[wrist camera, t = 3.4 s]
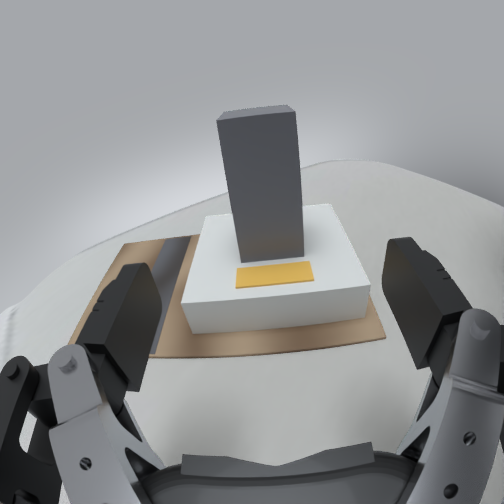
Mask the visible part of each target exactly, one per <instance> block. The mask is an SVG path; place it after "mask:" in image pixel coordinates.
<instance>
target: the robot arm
mask: <svg viewBox="0 0 504 504" xmlns="http://www.w3.org/2000/svg"><path fill="white" fill-rule="evenodd" d="M382 288H383V292H384V295H385V297H386V299H387V301H388V304H389V306H390V308H391V310H392V312H393V314H394V316H395V319H396V321H397V323H398V325H399V328H400V330H401V332H402V334H403V337H404V339H405V341H406V344H407V346H408V349H409V351H410V353H411V356H412V358H413V361H414V363H415V366H416V368H417V370H418V369H422V368H425V367H430V369H431V372H432V373H431V374H430V376H429V379H428V382H427V385H426V388H425V391H424V393H423V396H422V399H421V402H420V404H419V407H418V410H417V412H416V415H415V417H414V420H413V422H412V424H411V427H410V429H409V430H408V432H407V434H406V435H405V437H404V439H403V440H402V442H401V444H400V445H399V447H398V449H397V451H396V453H395V454H393V453H389V452H382V451H373V448H372V443H371V442H367V443H362V444H357V445H352V446H347V447H342V448H336V449H329V450H325V451H322V452H319V453H317V454H314V455H311V456H308V457H305V458H303V459H300V460H297V461H294V462H290V463H287V464H284V465H280V466H270V465H264V464H259V463H254V462H249V461H244V460H240V459H236V458H231V457H226V456H199V455H185V454H183V456H182V464H178V465H174V466H170V467H167V468H166V466H165V465H164V463H163V462H162V461H161V459H160V458H159V457H158V456H157V455H156V453H155V452H154V451H153V450H152V449H151V447H150V446H149V444H148V442H147V441H146V439H145V437H144V435H143V433H142V431H141V429H140V427H139V426H138V424H137V422H136V420H135V418H134V416H133V414H132V412H131V409H130V407H129V405H128V403H127V401H126V400H125V399H124V397H125V393H126V391H134V392H139V391H140V387H141V383H142V379H143V376H144V372H145V368H146V365H147V361H148V358H149V354H150V351H151V347H152V344H153V341H154V337H155V334H156V331H157V327H158V324H159V321H160V318H161V314H162V300H161V297H160V294H159V292H158V289H157V287H156V284H155V281H154V279H153V276H152V274H151V271H150V268H149V266H148V265H147V264H146V263H145V262H143V263H133V264H125V265H123V267H122V268H121V270H120V272H119V274H118V276H117V277H116V279H115V280H112V281H111V282H110V283H109V284H108V285H107V286H106V287H105V288H104V289H103V290H102V292H101V294H100V296H99V297H98V299H97V303H95V305H94V307H93V309H92V312H90V314H89V316H88V318H87V320H86V322H85V324H84V326H83V328H82V330H81V332H80V334H79V336H78V338H77V340H76V342H75V344H70V345H66V346H64V347H62V348H60V349H59V350H58V351H57V352H56V353H55V354H54V355H53V356H52V358H51V359H50V361H49V364H44V365H39V366H33V365H32V364H31V363H30V362H29V361H28V359H27V358H26V357H24V356H16V357H14V358H12V359H11V360H9V361H8V362H7V363H6V365H5V366H4V367H3V369H2V371H1V373H0V504H59V497H60V491H61V485H62V482H63V485H64V487H65V490H66V493H67V495H68V498H69V501H70V503H71V504H479V503H480V500H481V498H482V495H483V493H484V490H485V487H486V484H487V481H488V478H489V475H490V472H491V468H492V465H493V462H494V458H495V454H496V450H497V446H498V442H499V438H500V441H501V445H502V449H503V453H504V325H500V324H499V323H498V321H497V320H496V318H495V317H494V316H493V315H491V314H490V313H488V312H487V311H484V310H481V309H473V308H472V306H471V305H470V303H469V302H468V300H467V299H466V298H465V296H464V295H463V293H462V292H461V290H460V289H459V287H458V286H457V285H456V283H455V282H454V280H453V279H451V276H450V275H449V274H448V272H447V271H445V268H444V267H443V266H442V264H441V263H440V262H439V260H438V259H437V258H436V257H434V256H433V255H431V254H430V253H428V252H427V251H426V250H424V251H422V250H421V248H420V247H419V246H418V245H417V243H416V242H415V241H414V240H413V238H411V237H405V238H395V239H390V240H389V241H388V244H387V249H386V256H385V262H384V268H383V274H382ZM27 411H28V412H29V413H31V414H32V415H33V416H34V417H35V418H37V421H36V424H35V428H34V431H33V434H32V438H31V441H30V445H29V449H28V452H27V453H26V452H25V451H23V449H22V448H21V446H20V443H19V437H20V433H21V430H22V427H23V423H24V420H25V417H26V414H27ZM501 504H504V498H503V499H502V502H501Z"/></svg>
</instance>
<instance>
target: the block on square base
mask: <svg viewBox="0 0 504 504" xmlns="http://www.w3.org/2000/svg"><path fill="white" fill-rule="evenodd" d="M217 127H218V133H219V139H220V145H221V151H222V157H223V163H224V169H225V175H226V180H227V186H228V192H229V198H230V203H231V209H232V213H230V214H221V215H213V216H206V218H205V221H204V224H203V227H202V231H201V234H200V237H199V241H198V244H197V247H196V251H195V254H194V258H193V261H192V264H191V268H190V271H189V275H188V279H187V282H186V286H185V289H184V293H183V297H182V301H181V305H182V308H183V310H184V313H185V316H186V318H187V321H188V323H189V326H190V328H191V331H192V333H193V334H203V333H223V332H239V331H252V330H265V329H276V328H286V327H296V326H305V325H314V324H322V323H330V322H337V321H344V320H351V319H358V318H365V314H366V309H367V303H368V298H369V292H370V286H371V284H370V282H369V280H368V278H367V276H366V273H365V271H364V269H363V267H362V265H361V263H360V261H359V259H358V257H357V254H356V252H355V250H354V248H353V246H352V244H351V242H350V240H349V238H348V236H347V234H346V232H345V230H344V229H343V227H342V225H341V223H340V221H339V219H338V217H337V215H336V213H335V211H334V209H333V208H332V206H331V204H330V203H329V204H317V205H306V206H302V190H301V175H300V160H299V147H298V135H297V124H296V113H295V111H294V110H293V109H292V108H290V107H289V106H288V105H279V106H268V107H258V108H250V109H242V110H234V111H228V112H223V114H222V115H221V116H220V117H219V118H218V119H217Z"/></svg>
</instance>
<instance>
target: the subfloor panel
mask: <svg viewBox="0 0 504 504" xmlns="http://www.w3.org/2000/svg"><path fill="white" fill-rule="evenodd" d="M199 237H200V234H199V235H190V236H182V237H174V238H166V239H158V240H150V241H142V242H135V243H127V244H124V245H123V247H122V248H121V250H120V252H119V253H118V255H117V256H116V258H115V260H114V261H113V263H112V264H111V266H110V268H109V269H108V271H107V273H106V274H105V276H104V278H103V279H102V281H101V283H100V285H99V286H98V288H97V290H96V292H95V293H94V295H93V297H92V299H91V301H90V302H89V304H88V306H87V308H86V310H85V312H84V313H83V315H82V317H81V319H80V321H79V323H78V325H77V327H76V329H75V331H74V333H73V335H72V337H71V339H70V341H69V343H68V345H70V344H75V342H76V340H77V338H78V336H79V334H80V332H81V330H82V328H83V326H84V324H85V322H86V320H87V318H88V316H89V314H90V312H92V309H93V307H94V305H95V303H97V299H98V297H99V296H100V294H101V292H102V290H103V289H104V288H105V287H106V286H107V285H108V284H109V283H110V282H111V281H112V280H115V279H116V277H117V276H118V274H119V272H120V270H121V268H122V267H123V265H125V264H133V263H143V262H145V263H146V264H147V265H148V266H149V268H150V271H151V274H152V276H153V279H154V281H155V284H156V287H157V289H158V292H159V294H160V297H161V300H162V314H161V318H160V321H159V324H158V327H157V331H156V334H155V337H154V341H153V344H152V347H151V351H150V354H149V358H219V357H240V356H255V355H269V354H280V353H290V352H300V351H309V350H317V349H325V348H332V347H339V346H346V345H352V344H358V343H364V342H370V341H376V340H381V339H386V335H385V332H384V329H383V327H382V324H381V322H380V319H379V317H378V314H377V312H376V309H375V307H374V305H373V302H372V300H371V297H370V295H369V298H368V303H367V309H366V314H365V318H358V319H351V320H344V321H337V322H330V323H322V324H314V325H305V326H296V327H286V328H276V329H265V330H252V331H239V332H223V333H203V334H193V333H192V331H191V328H190V326H189V323H188V321H187V318H186V316H185V313H184V310H183V308H182V305H181V301H182V297H183V293H184V289H185V286H186V282H187V279H188V275H189V271H190V268H191V264H192V261H193V258H194V254H195V251H196V247H197V244H198V241H199Z"/></svg>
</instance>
